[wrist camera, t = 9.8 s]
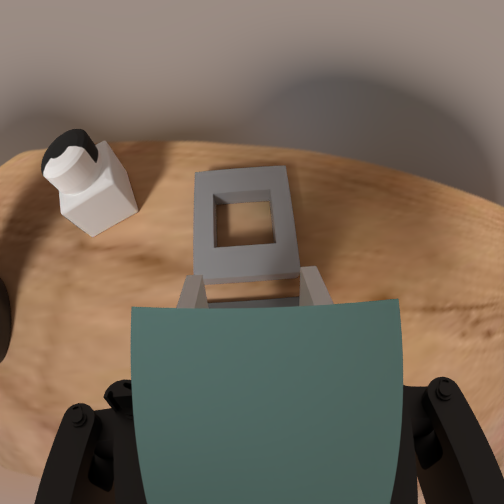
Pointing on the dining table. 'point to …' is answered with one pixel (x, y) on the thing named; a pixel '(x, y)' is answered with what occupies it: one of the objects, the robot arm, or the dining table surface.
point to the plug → (268, 403)
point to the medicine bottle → (88, 182)
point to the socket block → (249, 256)
